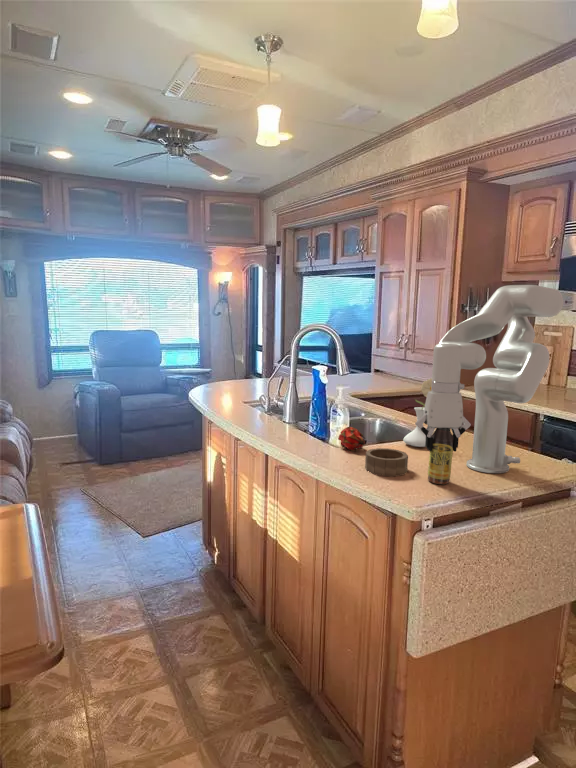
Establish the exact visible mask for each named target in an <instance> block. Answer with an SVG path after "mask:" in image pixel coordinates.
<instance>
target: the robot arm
mask: <svg viewBox="0 0 576 768" xmlns="http://www.w3.org/2000/svg"><path fill="white" fill-rule="evenodd" d="M563 306H564V297H563V295H562V293H561V292H560V290H558V289H556V288H551V287H546V286H541V285H536V284H512V285H510V284H509V285H504V286H500V287H499V288H497V289H496V290H495V291H494V292H493V294H492V295H491V296H490V298H489V299H488V300H487V301H486V303H485V304H484V305H483V306H482V308H481V309H480V310H479V312H477V314H476V315H474V316H470V317H469V318H467V319H466V320H464V321H461V322H460V323H458V324H456V325H455V326H453V327H452V328H451V329H449V330H448V331H447V332H446V334H445V335H444V336H443V337H442V338H441V339H440V340H439V342H438V343H436V345H434V348H433V352H432V353H433V354H432V370H431V371H432V372H431V373H432V374H431V378H432V385H431V391H429V392H428V394H427V397H426V399H425V402H424V404H425V406H424V408H425V409H424V415H423V416H422V417H421V418H420V419H419V420H418V421H417V420H416V421H415V426H417V427H418V428H419V429H420V430H421V431H422V432H423V433H424V434H425V435H426V442H425V446H426V447H425V448H426V449H427V450H428V452H430V451H432V449H433V438H432V434H433V433H434V432H435V430H436V428H451V430H450V431H451V434H452V436H453V438H454V440H453V452H457V449H458V448H459V438H461V436H462V435H463V434H464V433H465V432H466V431H467V430H468V429H469V428H470V427H471V423H470V422H469V420H468V419H466V417H465V416H464V408H463V407H464V406H463V404H464V403H463V395H462V393H461V390H464V389H465V384H464V383H461V382H460V381H461V370H463V369H464V370H477V369H479V368H481V367H482V366H483V365H484V364H485V362H486V359H487V353H486V350H485V348H484V347H483V346H482V345H480V344H478V343H476V342H475V341H478V340H483V339H487V338H490V337H493V336H494V337H495V336H496V335H498V334H501V332H502V331H503V329H505V326H506V325H507V328H506V332H505V334H504V335H503V337H502V339H501V341H500V343H499V344H498V346H497V348H496V350H495V351H494V355H493V357H492V363H493V366H494V367H486V368H483V369H481V370H479V371H478V372H477V373H476V375H475V377H474V381H473V385H474V387H473V388H474V395H475V415H474V425H473V427H474V428H473V429H474V430H473V438H472V439H473V442H472V454H471V458H470V459H468V460H466V463H465V464H466V466H467V468H469V469H471V470H474V471H476V472H481V473H488V474H505V473H508V472H509V471H510V466H509V465H510V464H520V463H521V457H518V456H515V457H513V456H512V455H507V454H506V447H507V433H508V422H509V411H508V407H506V404H505V402H509V403H516V404H526V403H528V402H529V401H531V400H532V398H533V397H534V395H535V393H536V391H537V389H538V387H539V386H540V384H541V382H542V379H543V377H544V376H545V374H546V371H547V370H548V367H549V363H550V352H549V349H548V348H547V347H546V345H544V344H542V343H539V342H534V340H535V337H536V332H535V329H534V327H533V324H532V323H530V320H529V318H530V317H531V318H533V317H535V318H553V317H556V316H557V315H558V314H559V313H561V312H562V311H561V310H562V309H563ZM528 317H529V318H528ZM422 424H423V425H422ZM424 424H425V425H427V427H425V426H424Z"/></svg>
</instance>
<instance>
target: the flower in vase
mask: <svg viewBox="0 0 576 768" xmlns="http://www.w3.org/2000/svg"><path fill="white" fill-rule="evenodd" d="M431 385H432V377H430V378H428V379H427V380H424V381H423V382H422V385H421V387H420V388H421V389H420V391H421V392H422V394H423V396H424V397H426V398H427V394H428V392H429V391H431ZM414 400H415V402H416V403H418V404H420V405H423V406H422V407H421V406H420V407H418V406H417V407H414V408H413V409H414V411H415V413H416V414H415V415H416V422H417V421H418V420H419V419H420V418H421V417H422V416H423V415H424V409H425V403H424V402H423V401H420V400H417V399H416V398H414ZM422 425H423V426H424V423H423V424H422ZM402 440H403V442H404V444H406V445H408V446H412V447H417V448H426V446H425V442H426V435H425V434H424V433H423V432H422V431H421V430H420V429H419V428H418V427H417V425H415V428H414V429H413V430H412V431H411V432H409V433H407V434H406V435H405V436H404V438H403V439H402Z"/></svg>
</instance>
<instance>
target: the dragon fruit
mask: <svg viewBox="0 0 576 768" xmlns="http://www.w3.org/2000/svg"><path fill="white" fill-rule="evenodd" d="M337 439H338V441H340V446H341V448H346V449H347V450H349V451H350V452H357V451H356V448H357V449H362V448H363V447H364V445H366V444H367V441H368V440H365V439H366V437H365V436H364V434H363V433H362V432H361V431H359V429H357V428H356V427H353V426H347V427H345V428H343V429H342V430H341V431H340V434H339V435H338V437H337Z"/></svg>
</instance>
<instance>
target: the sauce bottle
mask: <svg viewBox="0 0 576 768" xmlns="http://www.w3.org/2000/svg"><path fill="white" fill-rule="evenodd" d="M452 435H453V433H452V430H451V428H435V430H434V432H433V434H432V438H433V449H432V451H429V457H428V459H429V460H428V466H427V467H428V468H427V481H428V482H430V483H433V484H436V485H447V484H448V483H450V480H451V476H452V475H451V473H452V461H453V453H454V451H453V440H454V438H453V436H452Z"/></svg>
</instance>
